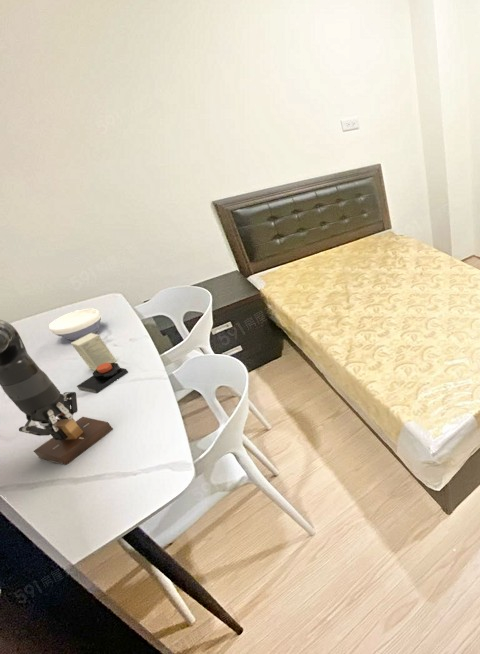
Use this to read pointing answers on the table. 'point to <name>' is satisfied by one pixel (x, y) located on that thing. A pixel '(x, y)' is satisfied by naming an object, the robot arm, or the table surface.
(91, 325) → the bowl
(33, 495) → the table surface
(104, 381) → the button box
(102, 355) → the cosmetic box
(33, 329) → the table surface
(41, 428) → the robot arm
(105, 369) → the button
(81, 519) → the table surface
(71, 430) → the tan wooden block
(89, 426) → the panel
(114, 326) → the table surface
